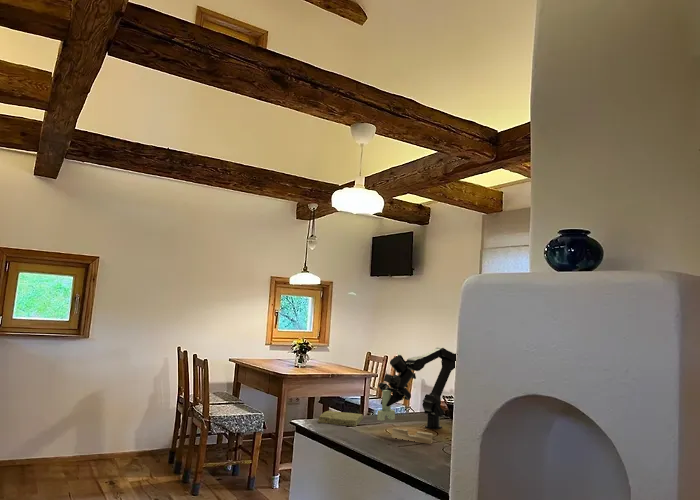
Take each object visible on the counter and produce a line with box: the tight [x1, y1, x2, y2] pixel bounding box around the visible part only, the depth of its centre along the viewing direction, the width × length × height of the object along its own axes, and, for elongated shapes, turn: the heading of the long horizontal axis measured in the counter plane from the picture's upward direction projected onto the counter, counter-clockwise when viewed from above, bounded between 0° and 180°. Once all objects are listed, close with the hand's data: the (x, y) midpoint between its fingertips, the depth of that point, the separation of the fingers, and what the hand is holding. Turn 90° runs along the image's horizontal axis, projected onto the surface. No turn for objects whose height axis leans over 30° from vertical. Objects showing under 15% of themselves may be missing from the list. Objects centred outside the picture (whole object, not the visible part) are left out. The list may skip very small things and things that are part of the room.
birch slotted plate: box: [391, 427, 433, 445], centre depth 237 cm, size 2×18×4 cm, turn 64°
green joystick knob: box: [376, 390, 396, 422], centre depth 249 cm, size 8×4×13 cm, turn 125°
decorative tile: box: [317, 410, 364, 427], centre depth 271 cm, size 19×20×4 cm
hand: (384, 405), depth 248 cm, fingers closed on green joystick knob, 4 cm apart
